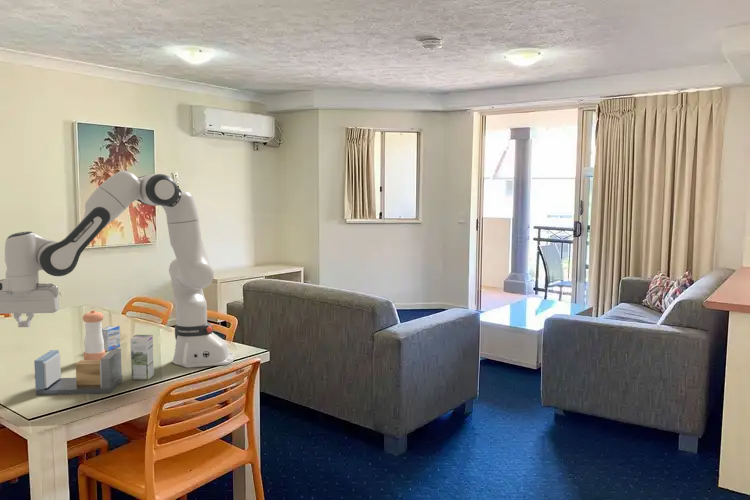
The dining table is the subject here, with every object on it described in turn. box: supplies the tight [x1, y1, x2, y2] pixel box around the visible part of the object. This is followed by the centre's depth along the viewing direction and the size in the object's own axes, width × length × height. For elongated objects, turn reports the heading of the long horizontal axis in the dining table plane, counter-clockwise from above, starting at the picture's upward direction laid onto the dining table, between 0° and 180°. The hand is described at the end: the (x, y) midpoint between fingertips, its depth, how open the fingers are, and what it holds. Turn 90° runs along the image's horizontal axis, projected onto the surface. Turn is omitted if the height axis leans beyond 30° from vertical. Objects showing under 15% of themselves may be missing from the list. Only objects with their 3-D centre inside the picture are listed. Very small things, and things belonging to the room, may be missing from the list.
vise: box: [35, 348, 123, 396], centre depth 187 cm, size 22×12×11 cm, turn 97°
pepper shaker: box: [82, 309, 106, 360], centre depth 216 cm, size 7×7×19 cm
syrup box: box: [130, 334, 155, 381], centre depth 198 cm, size 6×6×14 cm
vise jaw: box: [33, 349, 62, 391], centre depth 186 cm, size 3×12×9 cm, turn 7°
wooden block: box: [75, 359, 101, 385], centre depth 187 cm, size 4×8×7 cm, turn 97°
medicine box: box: [102, 325, 121, 352], centre depth 234 cm, size 8×4×9 cm, turn 168°
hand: (24, 326), depth 183 cm, fingers closed
